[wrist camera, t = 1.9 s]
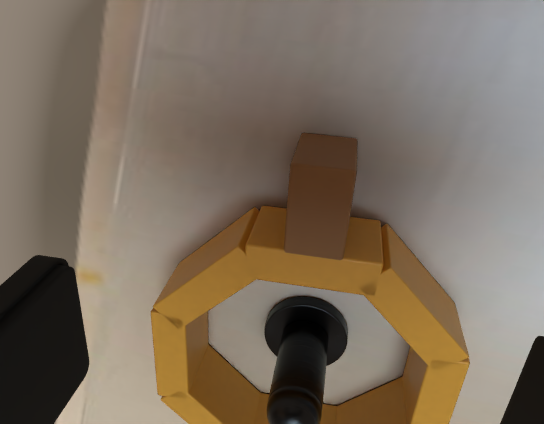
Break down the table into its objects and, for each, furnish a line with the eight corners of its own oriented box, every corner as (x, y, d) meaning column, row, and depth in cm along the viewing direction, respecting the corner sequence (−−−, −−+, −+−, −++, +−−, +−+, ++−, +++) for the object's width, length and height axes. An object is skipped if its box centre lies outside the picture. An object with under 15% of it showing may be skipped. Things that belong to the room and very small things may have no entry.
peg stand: (268, 290, 20) (240, 389, 16) (353, 302, 20) (349, 408, 15) (264, 352, 22) (238, 458, 17) (342, 365, 22) (336, 477, 17)
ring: (169, 117, 17) (135, 145, 15) (504, 153, 16) (531, 191, 13) (183, 397, 25) (161, 449, 22) (416, 439, 23) (422, 501, 21)
